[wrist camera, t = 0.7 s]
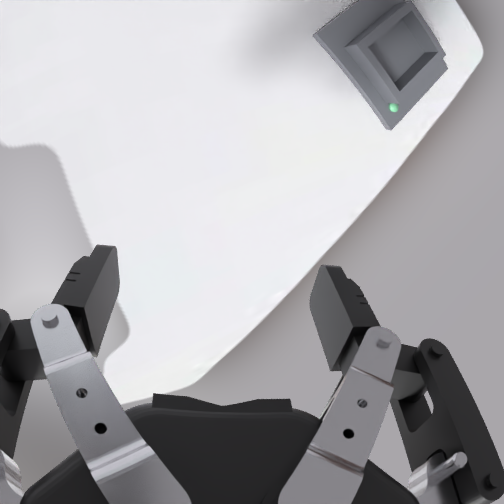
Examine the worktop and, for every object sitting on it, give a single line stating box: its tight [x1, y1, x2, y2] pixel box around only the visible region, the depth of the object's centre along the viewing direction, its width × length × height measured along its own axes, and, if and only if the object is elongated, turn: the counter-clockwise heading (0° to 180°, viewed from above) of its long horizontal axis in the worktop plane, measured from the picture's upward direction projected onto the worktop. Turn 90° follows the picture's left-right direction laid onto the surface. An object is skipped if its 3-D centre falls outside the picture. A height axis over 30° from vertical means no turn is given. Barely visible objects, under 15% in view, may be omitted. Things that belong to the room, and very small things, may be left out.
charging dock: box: [312, 0, 448, 130], centre depth 27 cm, size 14×14×4 cm
